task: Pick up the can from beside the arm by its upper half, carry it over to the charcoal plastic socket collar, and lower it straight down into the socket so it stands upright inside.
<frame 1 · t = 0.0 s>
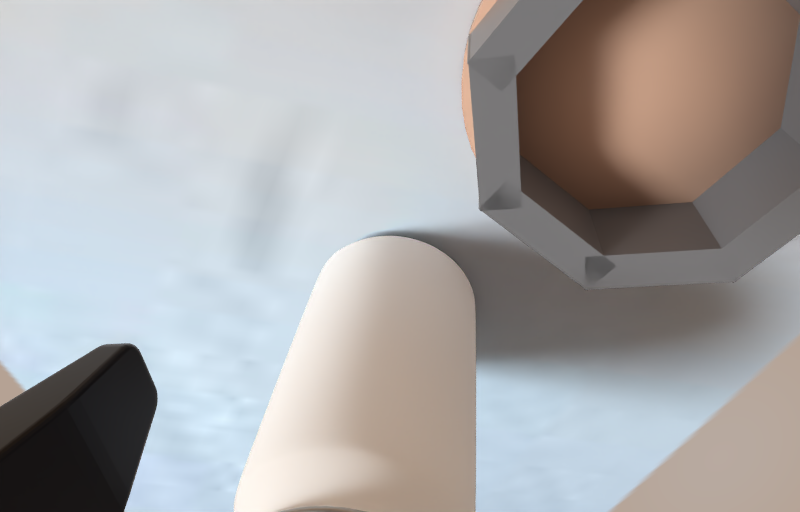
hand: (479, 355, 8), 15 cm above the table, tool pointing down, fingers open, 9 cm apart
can: (395, 296, 26), on the table
socket: (640, 78, 20), on the table
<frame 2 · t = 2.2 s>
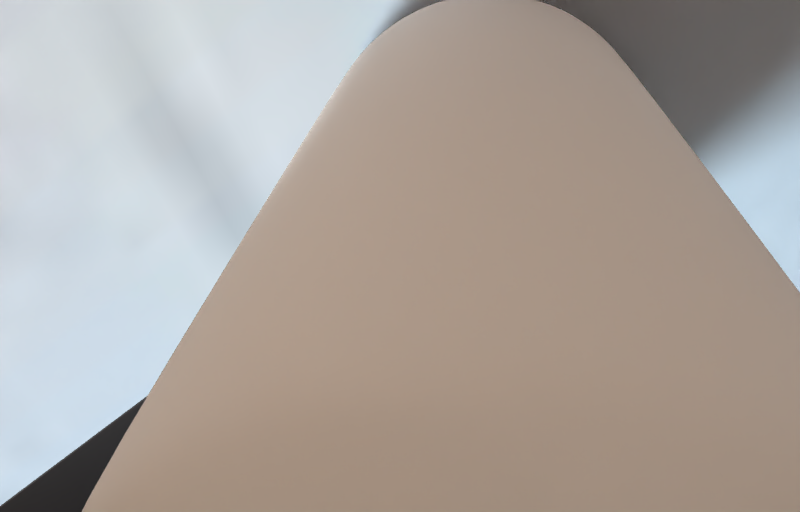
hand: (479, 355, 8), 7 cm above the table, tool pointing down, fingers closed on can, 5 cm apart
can: (481, 149, 14), on the table, touching gripper
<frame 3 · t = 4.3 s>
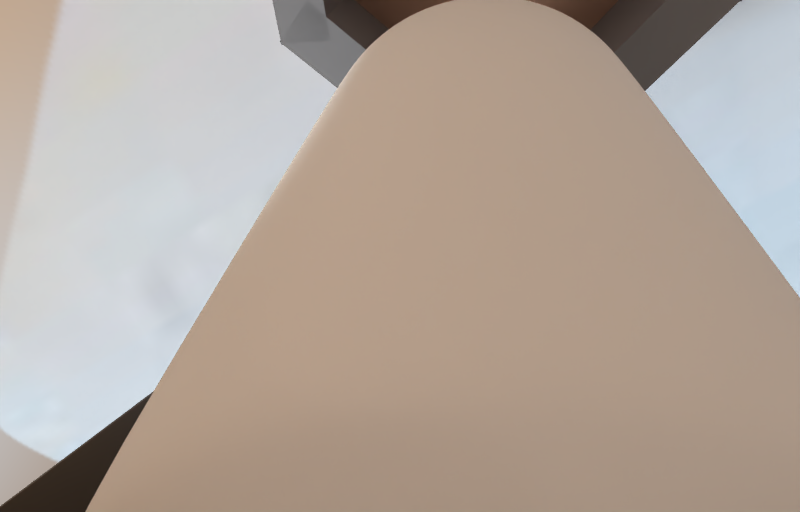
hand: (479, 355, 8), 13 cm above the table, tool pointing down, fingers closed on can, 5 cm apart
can: (480, 151, 14), point 7 cm above the table, touching gripper
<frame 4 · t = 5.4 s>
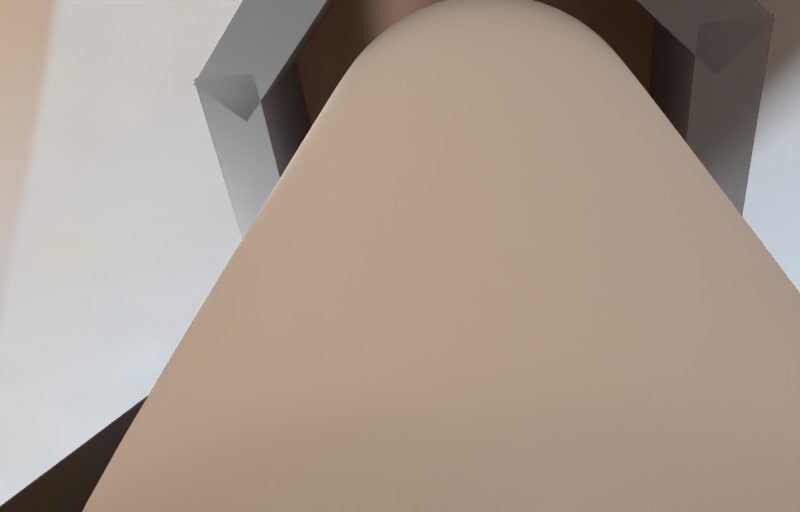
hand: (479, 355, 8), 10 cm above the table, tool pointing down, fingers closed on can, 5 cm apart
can: (480, 149, 14), point 3 cm above the table, touching gripper
socket: (473, 98, 16), on the table
when the fingers open (8 cm above the table, at t = 6.5 s): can stays where it is, resting on socket.
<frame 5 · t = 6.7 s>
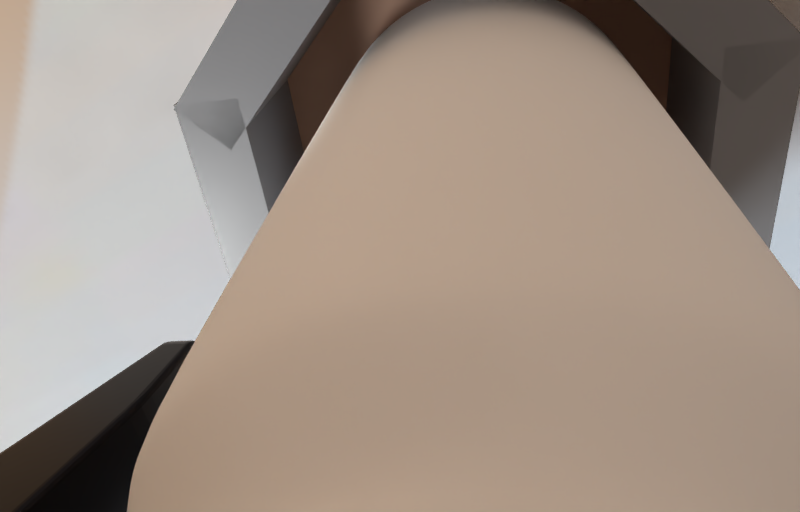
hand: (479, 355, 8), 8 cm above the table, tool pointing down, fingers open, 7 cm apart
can: (484, 134, 14), point 1 cm above the table, touching socket
socket: (476, 119, 15), on the table
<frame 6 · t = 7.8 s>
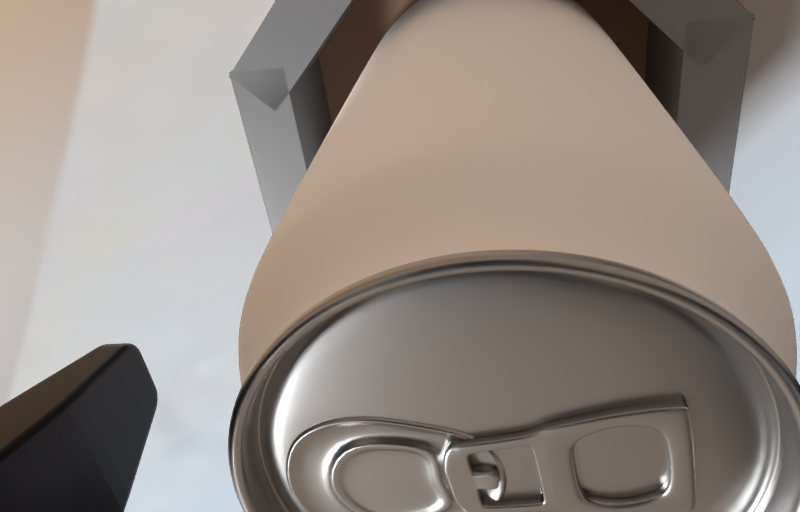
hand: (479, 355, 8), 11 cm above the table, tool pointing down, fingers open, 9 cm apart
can: (488, 105, 17), point 1 cm above the table, touching socket
socket: (481, 92, 17), on the table
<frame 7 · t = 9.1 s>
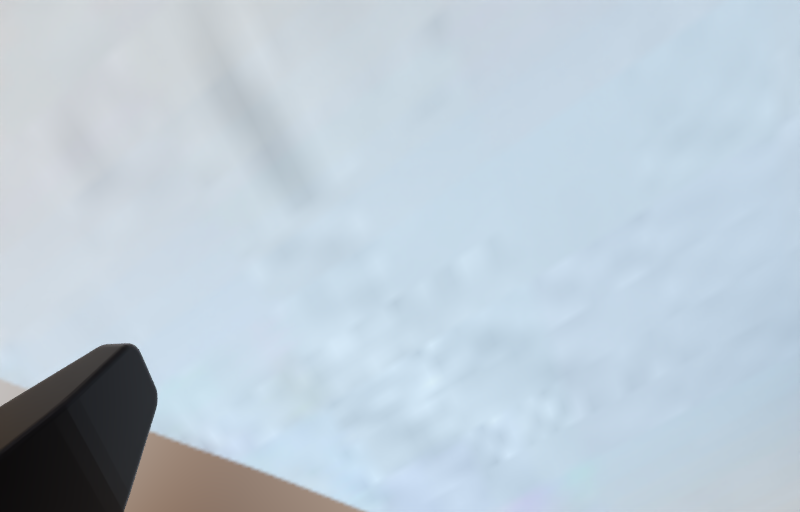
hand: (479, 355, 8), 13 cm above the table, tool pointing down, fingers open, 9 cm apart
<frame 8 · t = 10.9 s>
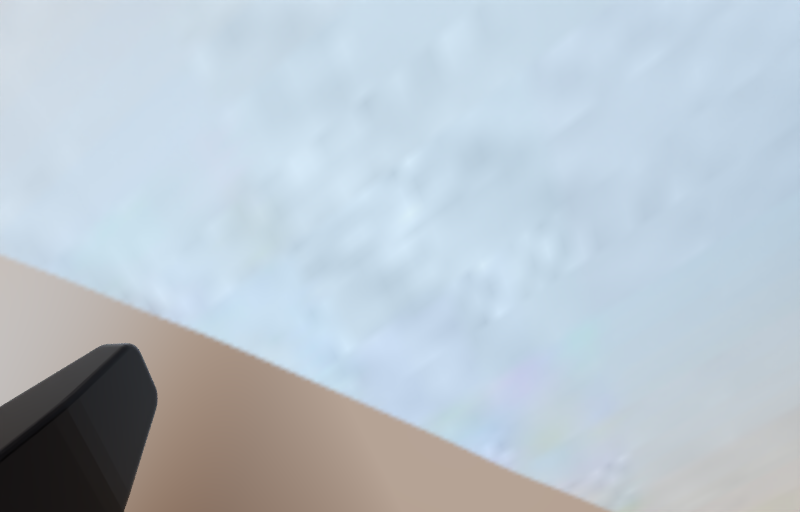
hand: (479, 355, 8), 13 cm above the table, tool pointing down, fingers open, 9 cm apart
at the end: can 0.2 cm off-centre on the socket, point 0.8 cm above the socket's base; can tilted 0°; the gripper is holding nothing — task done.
